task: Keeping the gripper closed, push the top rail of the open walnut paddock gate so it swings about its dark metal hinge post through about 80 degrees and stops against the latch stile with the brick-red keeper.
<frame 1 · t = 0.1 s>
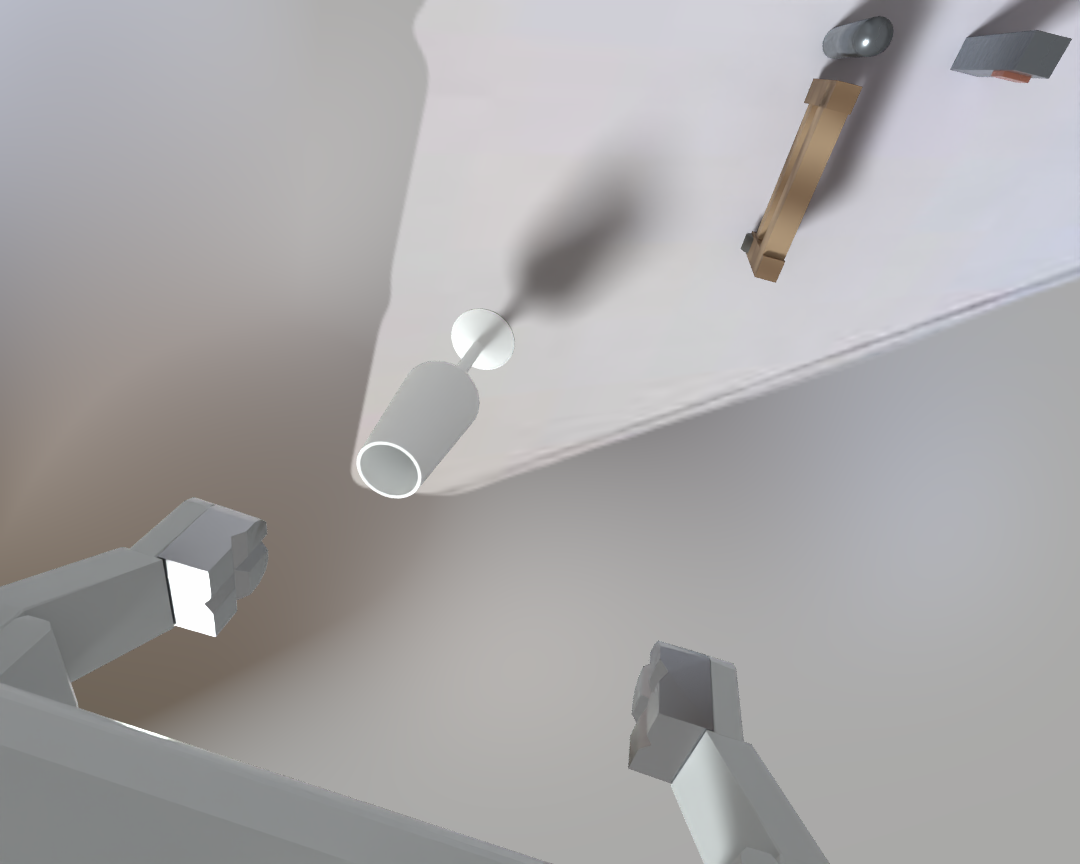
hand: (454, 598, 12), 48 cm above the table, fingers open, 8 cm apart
champagne flute: (483, 339, 62), on the table
gate: (794, 180, 45), point 5 cm above the table, hinge at 0.0°
posts: (837, 42, 45), on the table
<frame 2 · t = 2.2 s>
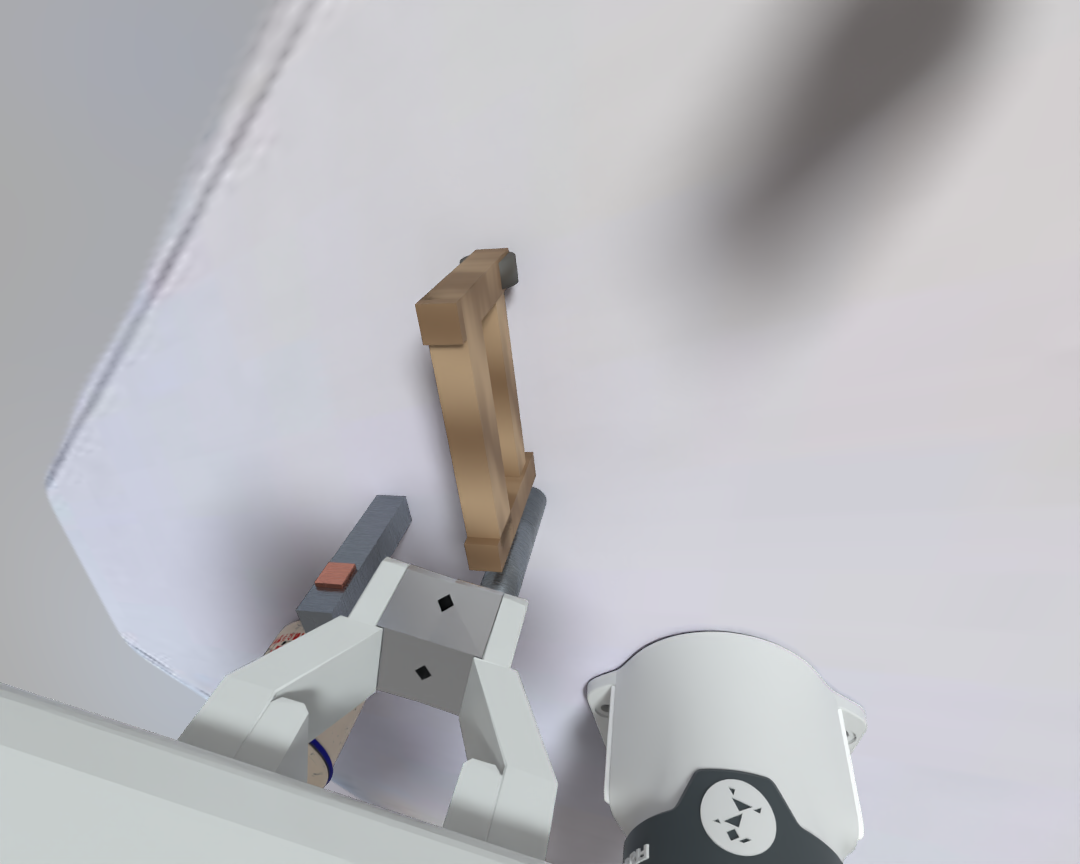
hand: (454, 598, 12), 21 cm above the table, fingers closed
gate: (489, 407, 29), point 5 cm above the table, hinge at 0.0°
teacup with lid: (317, 655, 50), on the table
posts: (530, 499, 37), on the table
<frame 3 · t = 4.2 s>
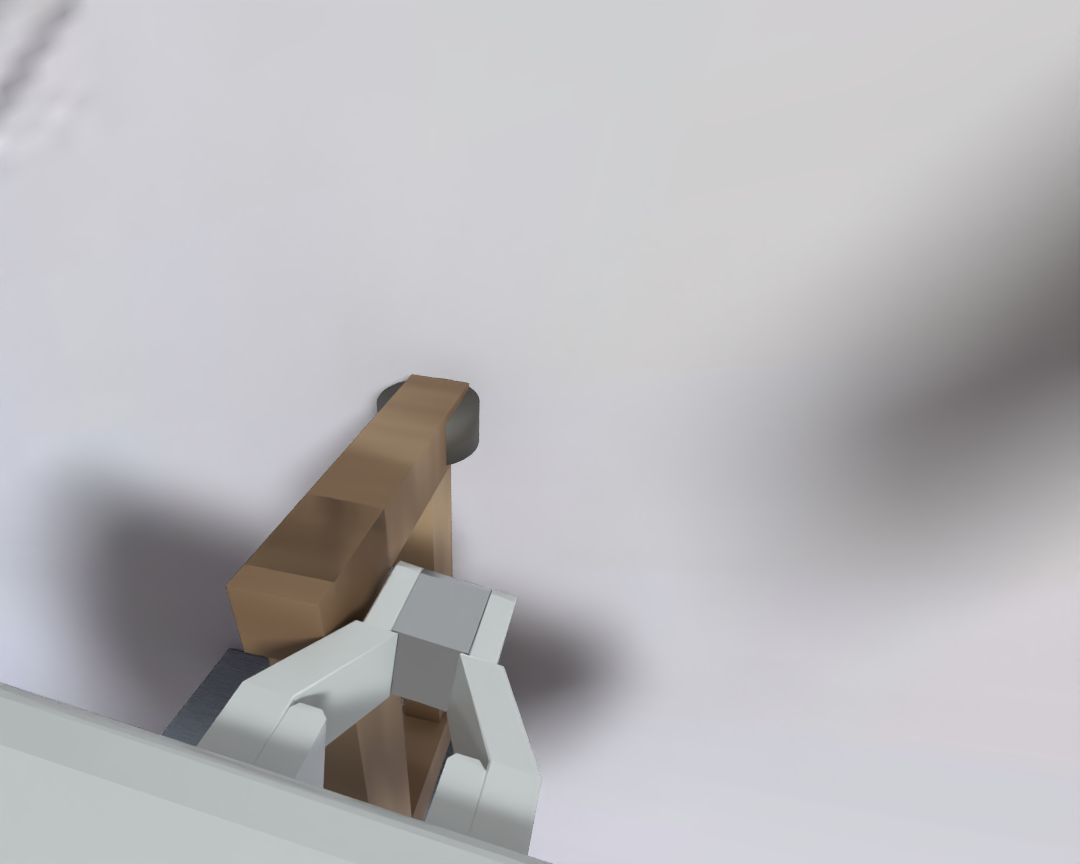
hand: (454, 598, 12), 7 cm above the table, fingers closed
gate: (398, 653, 17), point 5 cm above the table, hinge at 2.1°, touching gripper
posts: (456, 703, 25), on the table
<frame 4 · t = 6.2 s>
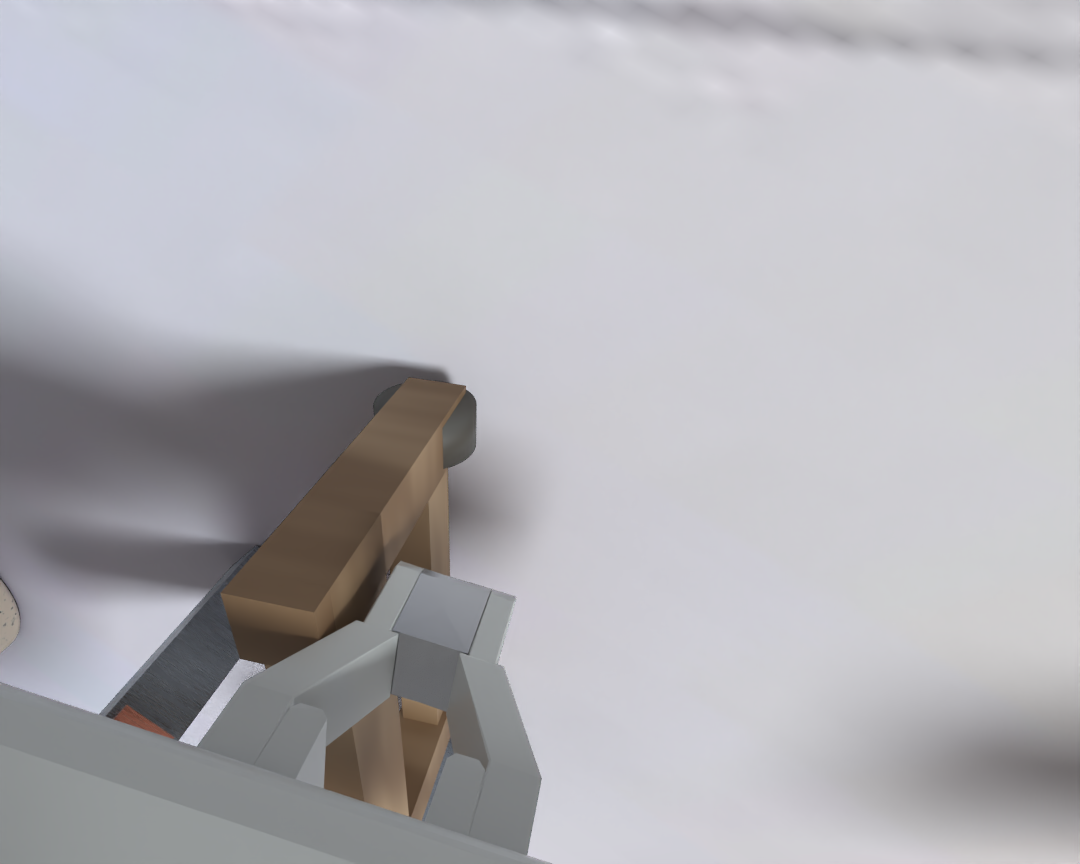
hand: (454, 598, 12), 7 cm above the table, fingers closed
gate: (396, 656, 17), point 5 cm above the table, hinge at 43.3°, touching gripper
posts: (454, 704, 25), on the table
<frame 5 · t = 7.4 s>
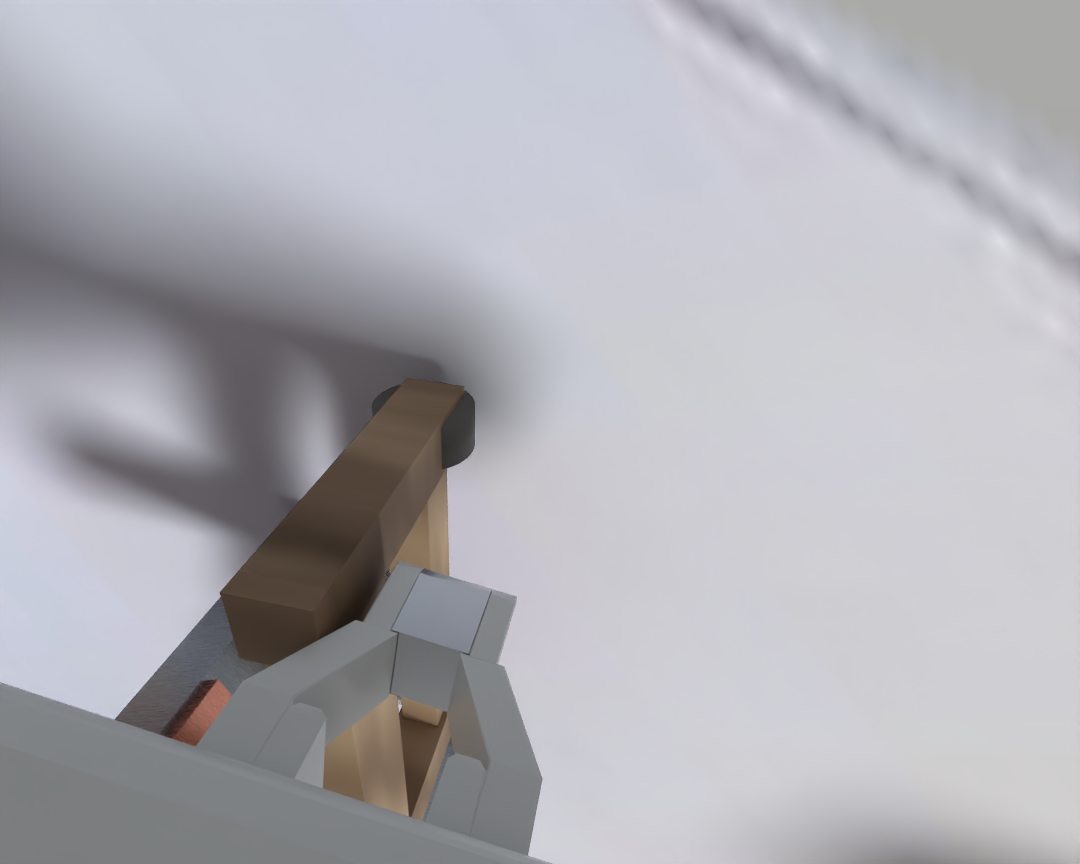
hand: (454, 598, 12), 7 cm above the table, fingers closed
gate: (395, 656, 17), point 5 cm above the table, hinge at 66.3°, touching gripper
posts: (454, 705, 25), on the table
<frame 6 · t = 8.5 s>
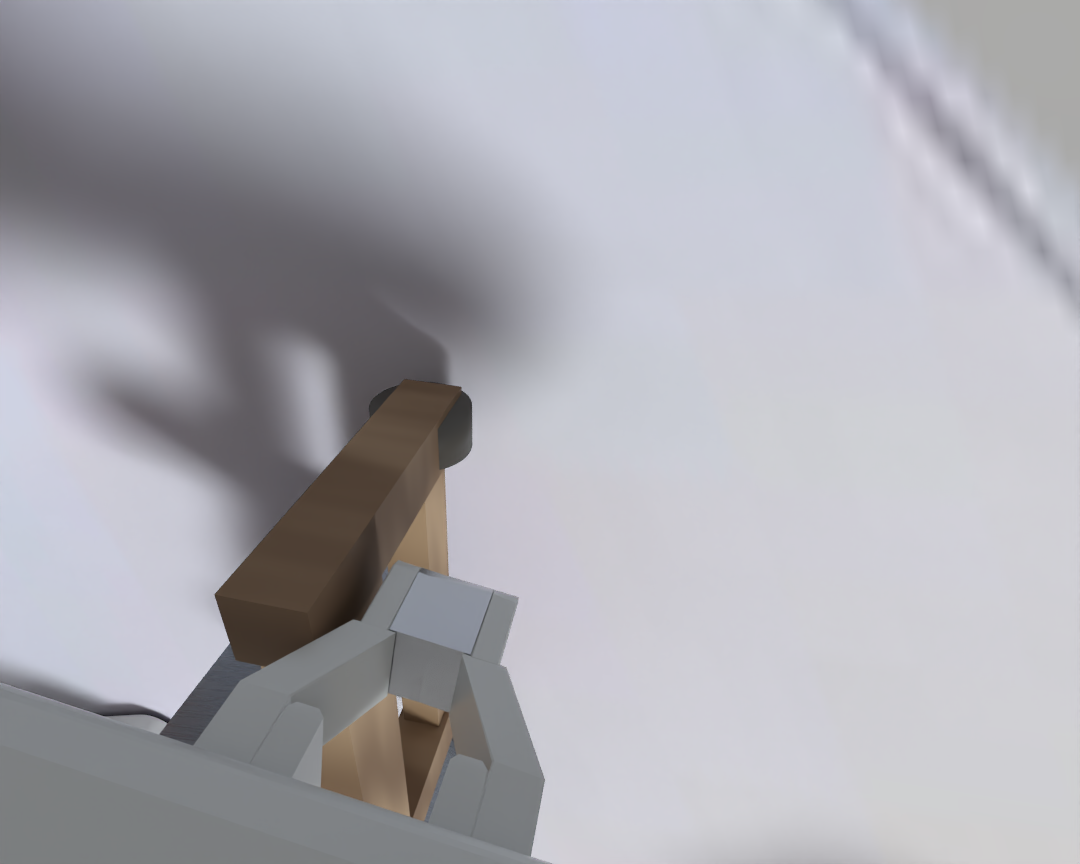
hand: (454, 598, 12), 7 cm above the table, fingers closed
gate: (395, 657, 17), point 5 cm above the table, hinge at 78.9°, touching gripper
posts: (456, 706, 25), on the table
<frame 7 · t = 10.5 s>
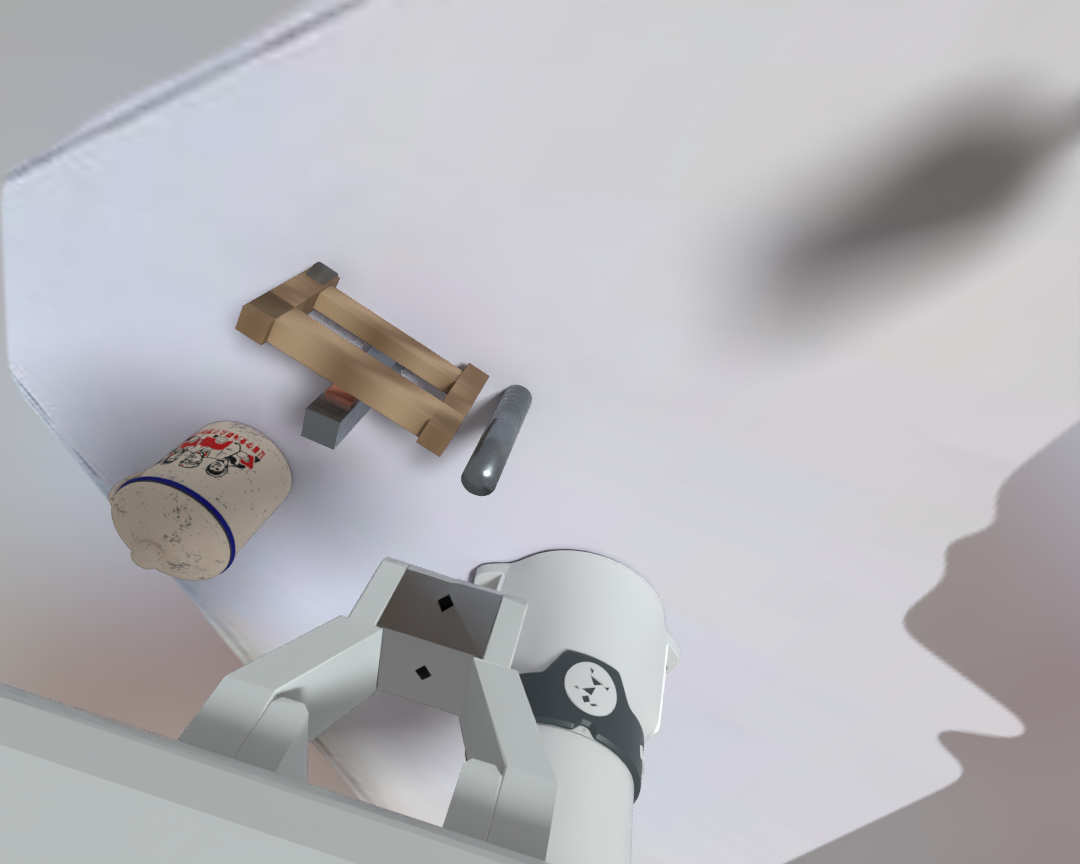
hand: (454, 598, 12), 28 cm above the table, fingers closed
gate: (376, 353, 37), point 5 cm above the table, hinge at 79.0°
teacup with lid: (230, 460, 51), on the table
posts: (517, 398, 42), on the table
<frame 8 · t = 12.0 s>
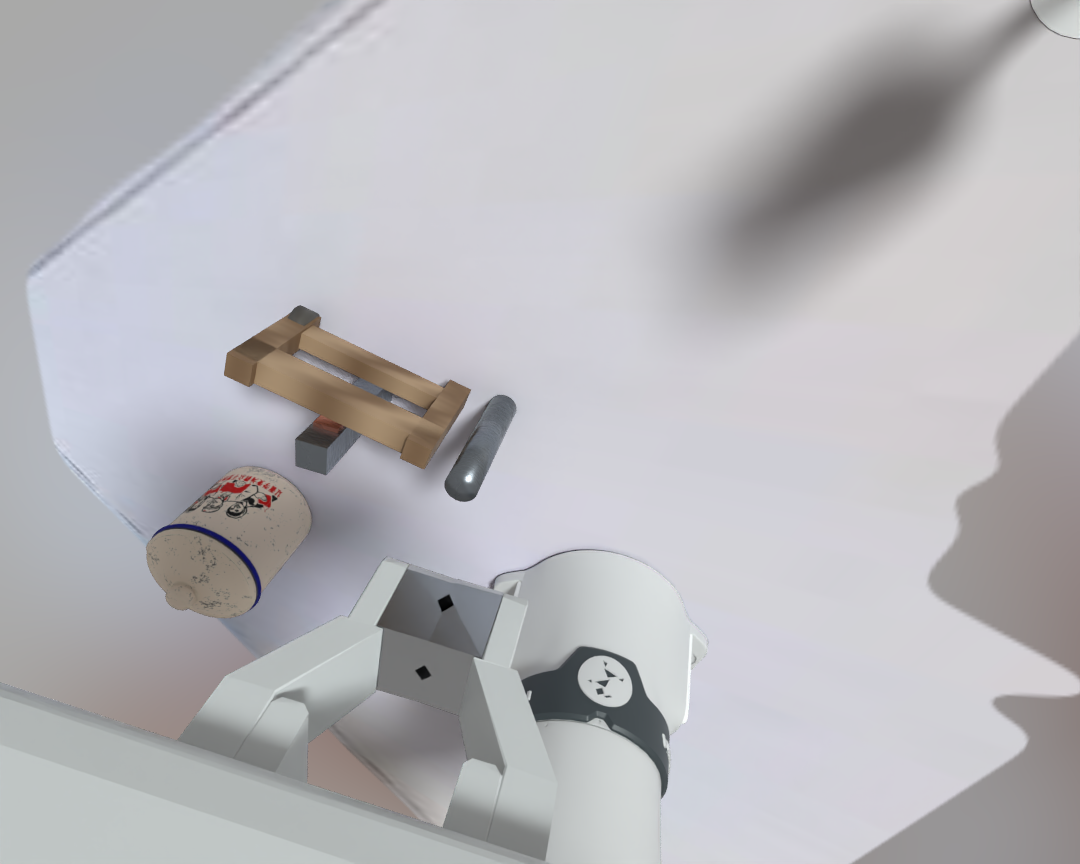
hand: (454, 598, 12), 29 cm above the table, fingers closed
gate: (359, 381, 39), point 5 cm above the table, hinge at 79.0°
teacup with lid: (255, 503, 54), on the table
posts: (502, 407, 44), on the table
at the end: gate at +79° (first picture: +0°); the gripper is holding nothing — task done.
